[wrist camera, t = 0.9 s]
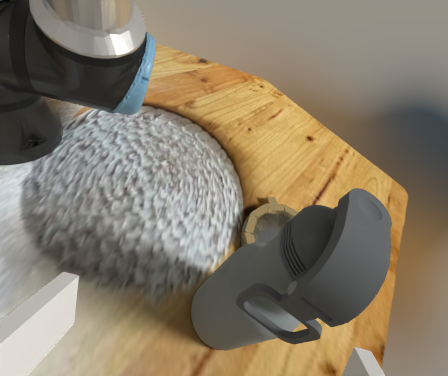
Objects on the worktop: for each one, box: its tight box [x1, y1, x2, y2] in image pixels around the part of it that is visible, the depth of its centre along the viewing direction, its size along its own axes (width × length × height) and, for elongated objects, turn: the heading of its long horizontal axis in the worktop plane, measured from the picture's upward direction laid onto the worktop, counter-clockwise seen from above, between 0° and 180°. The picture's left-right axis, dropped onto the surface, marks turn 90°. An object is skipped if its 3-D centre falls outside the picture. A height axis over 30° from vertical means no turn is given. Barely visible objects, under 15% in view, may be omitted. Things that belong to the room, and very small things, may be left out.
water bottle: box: [191, 188, 392, 351], centre depth 26 cm, size 10×10×28 cm
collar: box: [240, 197, 299, 247], centre depth 47 cm, size 22×18×2 cm
